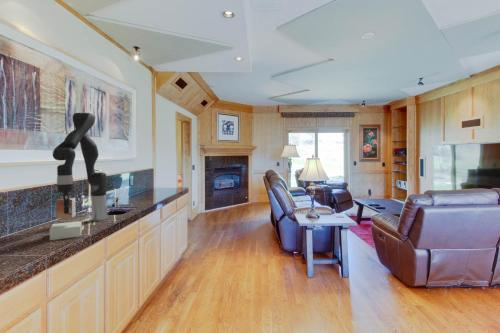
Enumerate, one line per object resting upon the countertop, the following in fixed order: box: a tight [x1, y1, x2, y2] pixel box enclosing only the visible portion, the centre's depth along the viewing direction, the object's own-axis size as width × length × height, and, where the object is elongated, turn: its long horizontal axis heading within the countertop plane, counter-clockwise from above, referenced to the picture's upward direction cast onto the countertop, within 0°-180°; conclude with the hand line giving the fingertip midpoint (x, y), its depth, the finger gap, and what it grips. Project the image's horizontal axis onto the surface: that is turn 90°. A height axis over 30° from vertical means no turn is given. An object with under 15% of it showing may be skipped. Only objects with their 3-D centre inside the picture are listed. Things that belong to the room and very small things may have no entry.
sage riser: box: [49, 220, 83, 241], centre depth 155 cm, size 14×14×6 cm
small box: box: [55, 197, 77, 219], centre depth 154 cm, size 8×6×10 cm
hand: (66, 212), depth 155 cm, fingers closed on small box, 7 cm apart
